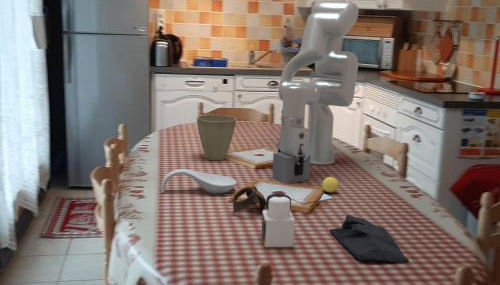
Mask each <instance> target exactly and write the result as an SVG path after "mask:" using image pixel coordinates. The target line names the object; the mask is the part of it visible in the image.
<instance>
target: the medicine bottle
mask: <svg viewBox="0 0 500 285" xmlns="http://www.w3.org/2000/svg"><path fill="white" fill-rule="evenodd" d="M285 194H286V193H280V192H278V193H272V194H270V195H267V197H266V199H265V200H266V210H264V209H263V210H262V211H261V212H262V214H261V239H262V242H263V246H264V248H293V247H294V244H295V226H296V225H295V224H296V223H295V221H296V220H295V218H294V216H293V214H292V199H291V198H290V197H289V196H288V195H285Z"/></svg>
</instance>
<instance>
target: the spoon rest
mask: <svg viewBox="0 0 500 285" xmlns="http://www.w3.org/2000/svg"><path fill="white" fill-rule="evenodd" d="M178 175H185V176H188V177H190V178H191V179H192V180H193V181H194V182H196V183H197V184H198V186H200V187H201V188H202V190H204V191H206V193H208V194H212V195H219V194H220V195H221V194H224V193H228V192H230V191H231V190H233V189H234V188H235V187H236V185H237V180H236V179H234V178H233V177H230V176H226V175H220V174H212V173H206V172H201V171H199V170H198V171H197V170H193V169H190V168H189V169H187V168H177V169H174V170H171V171H170V172H168V173H167V174H166V175H165V176H164V178H163V179H162V181H161V187H160V193H161V194H165V192H166V188H167V183H168V182H169V180H171V178H173V177H174V176H175V177H176V176H178Z"/></svg>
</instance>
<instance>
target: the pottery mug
mask: <svg viewBox="0 0 500 285" xmlns="http://www.w3.org/2000/svg"><path fill="white" fill-rule="evenodd" d="M262 193H263V192H261V191H259V189H258V188H257V187H256V186H255V185H254V186H253V185H252V186H245V187H243V188H241V189H239V190H238V191H237V192H236V193H234V194H233V198H232V199H231V202H232V203H233V205H232V209H233V211H234V212H237V211H242V210H246V209H248V210H251V209H252V208H251V205H255V206H257V205H258V206H259V209H263V210H266V200H267V199H266V198H265V196H264V194H262ZM244 194H245V195H246V198H245V199H242V200H239V201H238V199H239V198H240V197H241V196H243V195H244Z"/></svg>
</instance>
